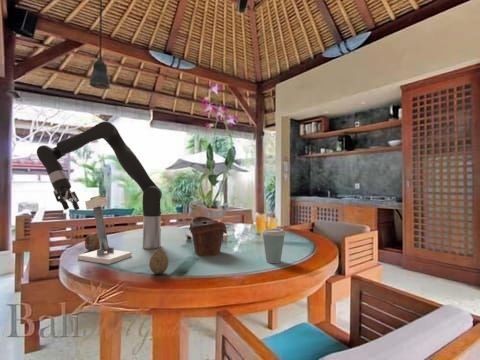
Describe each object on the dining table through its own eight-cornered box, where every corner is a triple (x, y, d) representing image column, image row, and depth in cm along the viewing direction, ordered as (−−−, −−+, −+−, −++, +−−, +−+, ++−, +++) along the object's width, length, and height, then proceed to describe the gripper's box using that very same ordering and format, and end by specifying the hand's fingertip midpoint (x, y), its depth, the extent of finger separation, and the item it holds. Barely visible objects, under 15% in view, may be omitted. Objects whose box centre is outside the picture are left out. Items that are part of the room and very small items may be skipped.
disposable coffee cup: (266, 265, 123) (266, 231, 124) (258, 258, 134) (258, 227, 134) (288, 264, 126) (289, 230, 126) (278, 257, 137) (279, 227, 137)
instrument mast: (94, 254, 130) (84, 198, 132) (103, 251, 134) (93, 198, 137) (107, 251, 127) (97, 194, 130) (115, 248, 132) (105, 194, 134)
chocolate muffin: (222, 258, 133) (222, 220, 133) (182, 255, 137) (183, 219, 137) (230, 250, 150) (231, 217, 151) (195, 248, 154) (196, 215, 155)
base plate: (77, 259, 127) (78, 249, 127) (102, 252, 140) (102, 243, 140) (108, 264, 121) (108, 254, 121) (131, 256, 134) (131, 247, 134)
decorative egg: (169, 271, 113) (170, 246, 113) (165, 277, 106) (166, 250, 106) (152, 270, 113) (152, 246, 113) (146, 276, 106) (147, 250, 106)
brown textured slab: (89, 252, 141) (89, 235, 141) (83, 252, 141) (83, 235, 141) (104, 245, 156) (104, 230, 156) (98, 245, 156) (99, 230, 156)
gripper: (57, 175, 136) (70, 205, 134) (75, 179, 150) (87, 206, 148) (43, 183, 136) (56, 212, 134) (62, 186, 150) (74, 213, 148)
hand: (72, 209), depth 141 cm, fingers open, 8 cm apart
